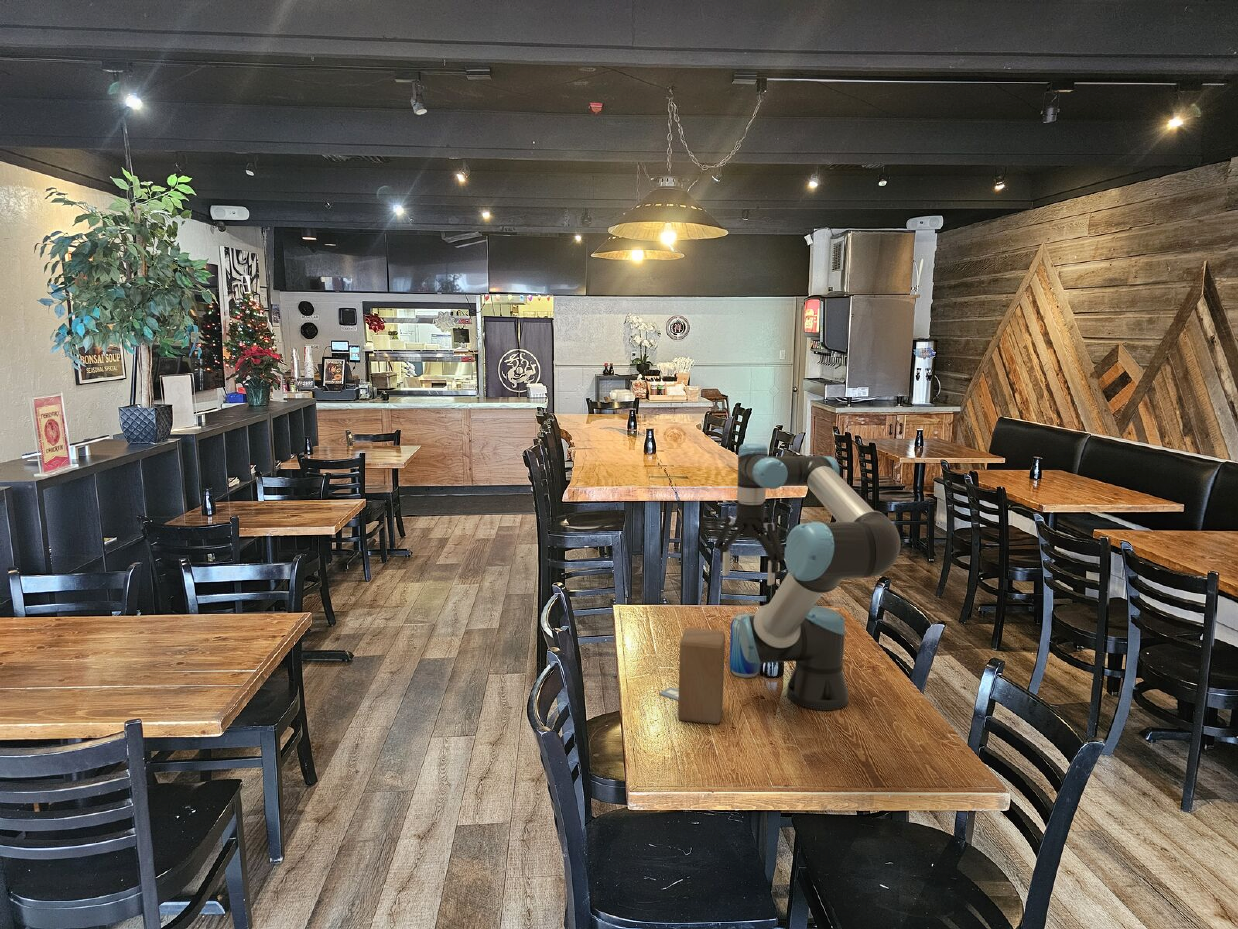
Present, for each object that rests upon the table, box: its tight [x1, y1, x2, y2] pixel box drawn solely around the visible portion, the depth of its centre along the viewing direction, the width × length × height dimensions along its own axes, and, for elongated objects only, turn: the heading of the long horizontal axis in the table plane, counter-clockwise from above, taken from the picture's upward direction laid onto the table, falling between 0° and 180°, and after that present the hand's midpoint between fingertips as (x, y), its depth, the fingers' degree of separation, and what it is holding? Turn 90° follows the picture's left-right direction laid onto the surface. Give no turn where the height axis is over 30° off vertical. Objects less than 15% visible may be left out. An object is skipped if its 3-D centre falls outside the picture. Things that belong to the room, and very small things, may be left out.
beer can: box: [729, 612, 762, 679], centre depth 211 cm, size 8×8×16 cm
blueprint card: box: [658, 686, 679, 702], centre depth 197 cm, size 8×5×1 cm, turn 52°
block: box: [677, 627, 726, 725], centre depth 186 cm, size 10×10×20 cm
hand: (747, 579), depth 209 cm, fingers open, 13 cm apart
